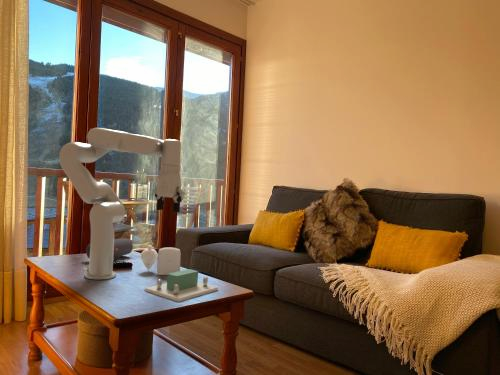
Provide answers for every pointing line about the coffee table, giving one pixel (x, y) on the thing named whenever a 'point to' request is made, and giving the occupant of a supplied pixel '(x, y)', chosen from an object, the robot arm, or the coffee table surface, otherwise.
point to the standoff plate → (183, 294)
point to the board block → (182, 279)
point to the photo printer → (168, 260)
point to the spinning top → (149, 257)
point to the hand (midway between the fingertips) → (167, 211)
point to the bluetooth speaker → (117, 248)
